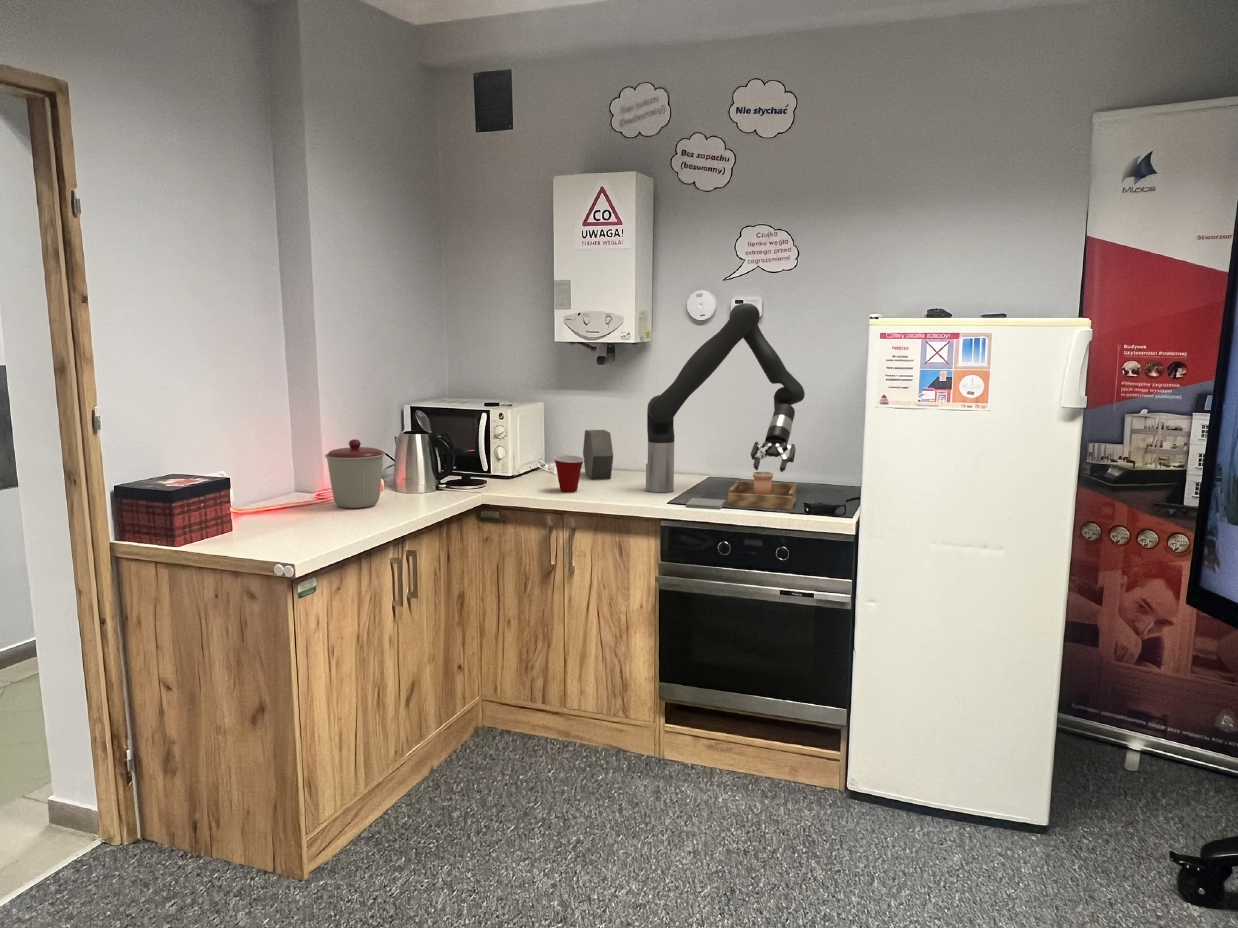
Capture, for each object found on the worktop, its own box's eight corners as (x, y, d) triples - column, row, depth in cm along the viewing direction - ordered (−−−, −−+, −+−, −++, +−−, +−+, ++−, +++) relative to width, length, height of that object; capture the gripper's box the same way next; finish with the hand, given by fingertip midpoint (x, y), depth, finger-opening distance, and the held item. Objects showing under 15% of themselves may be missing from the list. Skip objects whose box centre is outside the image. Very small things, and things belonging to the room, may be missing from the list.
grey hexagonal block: (615, 469, 323) (608, 419, 331) (594, 469, 321) (588, 420, 329) (606, 487, 337) (600, 439, 346) (587, 488, 336) (581, 440, 344)
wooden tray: (728, 505, 279) (728, 488, 278) (735, 497, 294) (736, 480, 293) (791, 509, 273) (792, 492, 273) (795, 500, 289) (796, 484, 288)
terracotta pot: (750, 504, 281) (751, 474, 279) (753, 501, 287) (754, 471, 285) (771, 506, 279) (772, 475, 278) (773, 502, 285) (774, 472, 284)
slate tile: (685, 507, 276) (685, 504, 276) (692, 500, 287) (692, 498, 287) (719, 509, 273) (720, 506, 273) (725, 502, 284) (725, 499, 284)
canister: (396, 501, 282) (394, 437, 279) (368, 512, 265) (366, 443, 262) (346, 499, 286) (343, 435, 283) (315, 509, 269) (312, 441, 266)
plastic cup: (566, 495, 296) (566, 460, 294) (547, 490, 304) (546, 456, 302) (591, 491, 303) (591, 457, 301) (571, 487, 311) (571, 454, 309)
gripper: (756, 423, 295) (745, 461, 287) (798, 425, 289) (787, 464, 281) (760, 437, 301) (749, 474, 292) (801, 439, 295) (791, 478, 286)
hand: (768, 469), depth 287 cm, fingers open, 8 cm apart
